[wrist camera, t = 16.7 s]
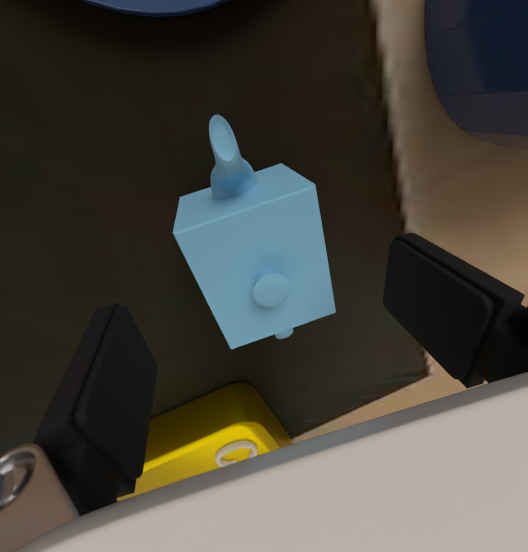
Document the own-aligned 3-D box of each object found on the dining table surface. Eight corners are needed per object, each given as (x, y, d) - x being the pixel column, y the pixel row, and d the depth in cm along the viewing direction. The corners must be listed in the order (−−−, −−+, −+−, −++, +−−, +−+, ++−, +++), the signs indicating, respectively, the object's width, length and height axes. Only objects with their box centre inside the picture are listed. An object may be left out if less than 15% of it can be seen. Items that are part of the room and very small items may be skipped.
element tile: (103, 437, 26) (86, 497, 22) (246, 374, 26) (256, 423, 22) (185, 489, 34) (183, 539, 30) (294, 442, 34) (308, 486, 30)
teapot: (153, 131, 14) (118, 147, 8) (262, 95, 15) (311, 84, 8) (228, 301, 21) (242, 383, 15) (303, 275, 21) (348, 345, 15)
